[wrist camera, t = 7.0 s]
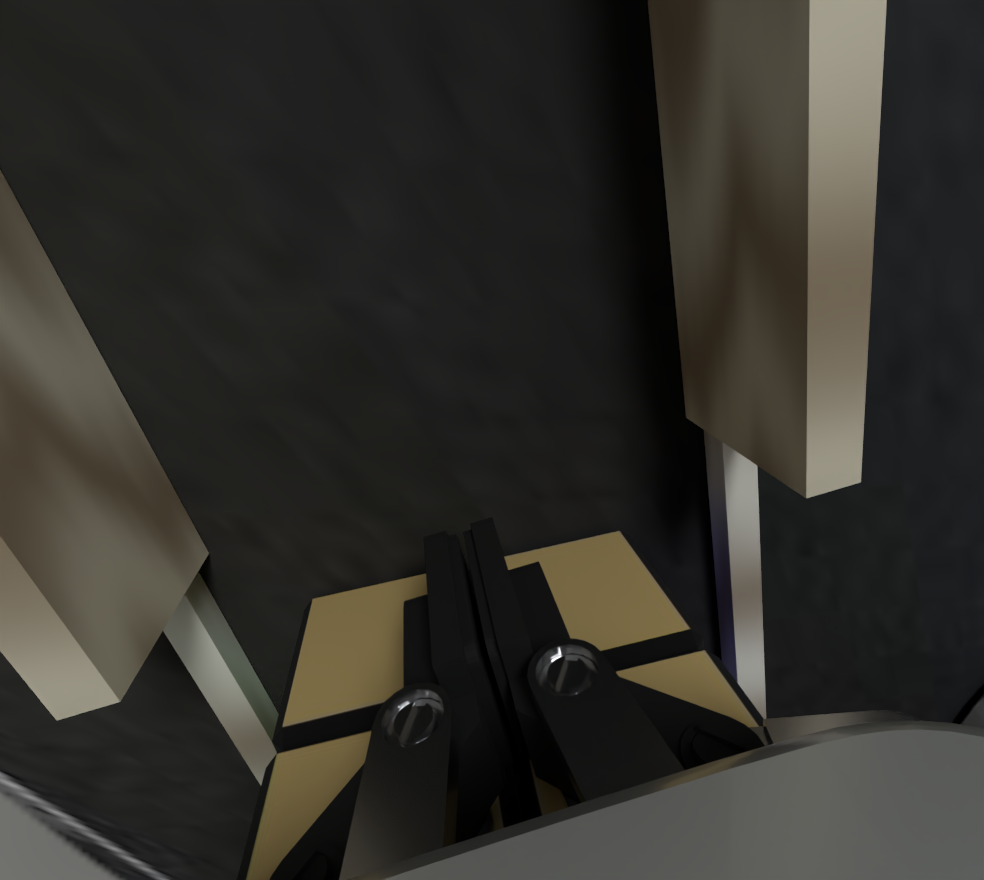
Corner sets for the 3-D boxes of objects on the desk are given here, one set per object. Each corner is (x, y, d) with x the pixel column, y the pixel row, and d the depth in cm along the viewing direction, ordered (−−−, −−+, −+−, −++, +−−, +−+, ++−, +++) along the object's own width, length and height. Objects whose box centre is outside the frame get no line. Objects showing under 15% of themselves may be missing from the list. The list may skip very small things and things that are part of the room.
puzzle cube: (639, 742, 20) (831, 1160, 11) (381, 808, 20) (362, 1319, 10) (625, 522, 17) (902, 887, 7) (303, 593, 16) (163, 1105, 7)
